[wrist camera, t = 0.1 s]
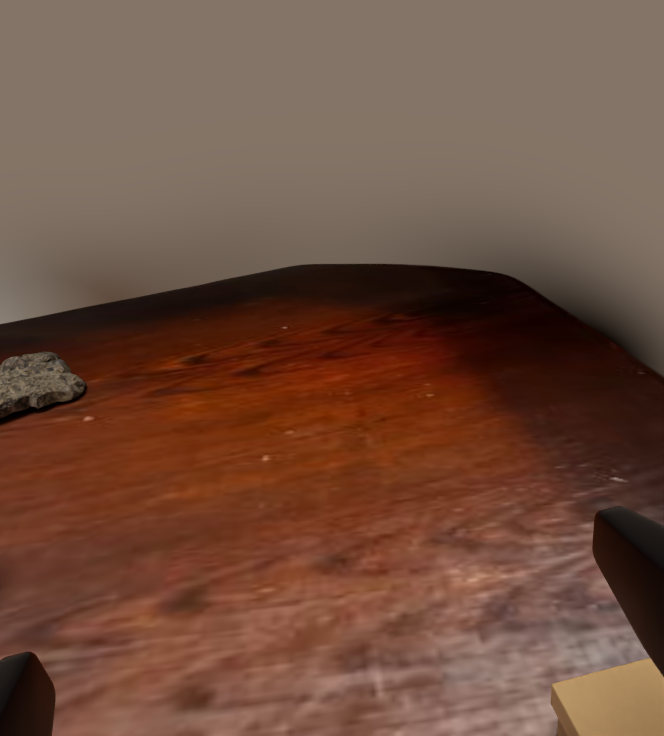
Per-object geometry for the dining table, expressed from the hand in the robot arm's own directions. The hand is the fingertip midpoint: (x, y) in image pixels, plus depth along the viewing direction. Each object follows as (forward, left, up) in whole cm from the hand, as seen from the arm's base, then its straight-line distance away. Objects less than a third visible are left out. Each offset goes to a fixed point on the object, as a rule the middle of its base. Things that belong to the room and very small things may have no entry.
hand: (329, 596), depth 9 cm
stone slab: (+46, +28, -17) cm, 56 cm away
